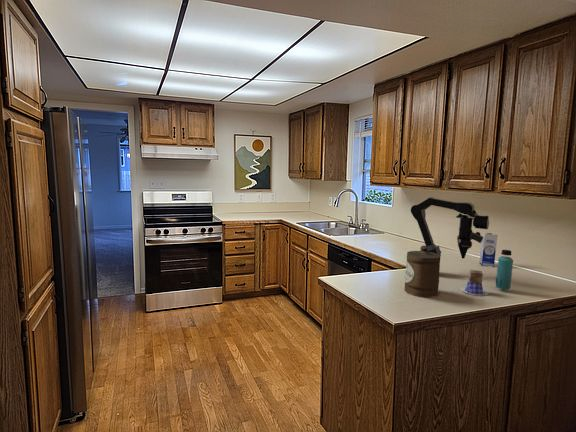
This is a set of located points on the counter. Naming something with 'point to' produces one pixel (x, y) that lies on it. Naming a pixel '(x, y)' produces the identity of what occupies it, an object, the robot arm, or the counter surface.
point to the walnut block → (475, 276)
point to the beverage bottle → (504, 271)
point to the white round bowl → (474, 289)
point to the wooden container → (422, 273)
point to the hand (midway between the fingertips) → (462, 256)
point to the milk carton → (488, 249)
